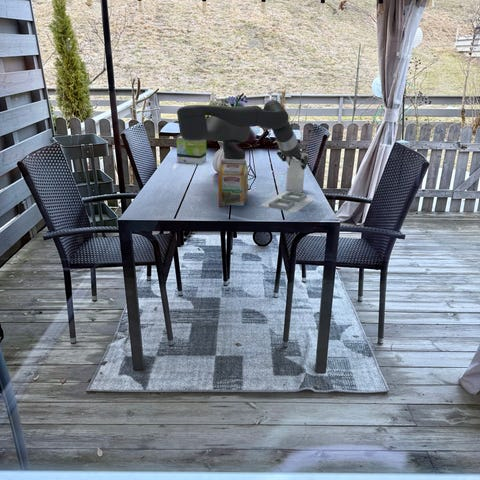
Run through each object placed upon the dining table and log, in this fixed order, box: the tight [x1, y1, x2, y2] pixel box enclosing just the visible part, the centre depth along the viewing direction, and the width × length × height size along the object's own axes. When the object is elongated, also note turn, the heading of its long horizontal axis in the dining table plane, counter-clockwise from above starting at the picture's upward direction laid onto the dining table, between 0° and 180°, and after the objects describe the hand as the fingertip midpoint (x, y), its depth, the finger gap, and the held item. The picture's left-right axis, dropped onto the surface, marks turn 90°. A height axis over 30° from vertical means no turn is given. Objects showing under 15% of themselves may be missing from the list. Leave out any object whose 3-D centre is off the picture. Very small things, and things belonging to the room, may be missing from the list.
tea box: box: [175, 135, 207, 165], centre depth 245 cm, size 15×10×15 cm
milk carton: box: [217, 158, 249, 208], centre depth 175 cm, size 11×11×19 cm
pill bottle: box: [285, 164, 306, 193], centre depth 193 cm, size 8×8×15 cm
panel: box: [259, 191, 316, 213], centre depth 177 cm, size 21×16×3 cm
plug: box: [289, 159, 305, 179], centre depth 176 cm, size 4×5×10 cm
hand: (298, 166), depth 177 cm, fingers closed on plug, 5 cm apart
